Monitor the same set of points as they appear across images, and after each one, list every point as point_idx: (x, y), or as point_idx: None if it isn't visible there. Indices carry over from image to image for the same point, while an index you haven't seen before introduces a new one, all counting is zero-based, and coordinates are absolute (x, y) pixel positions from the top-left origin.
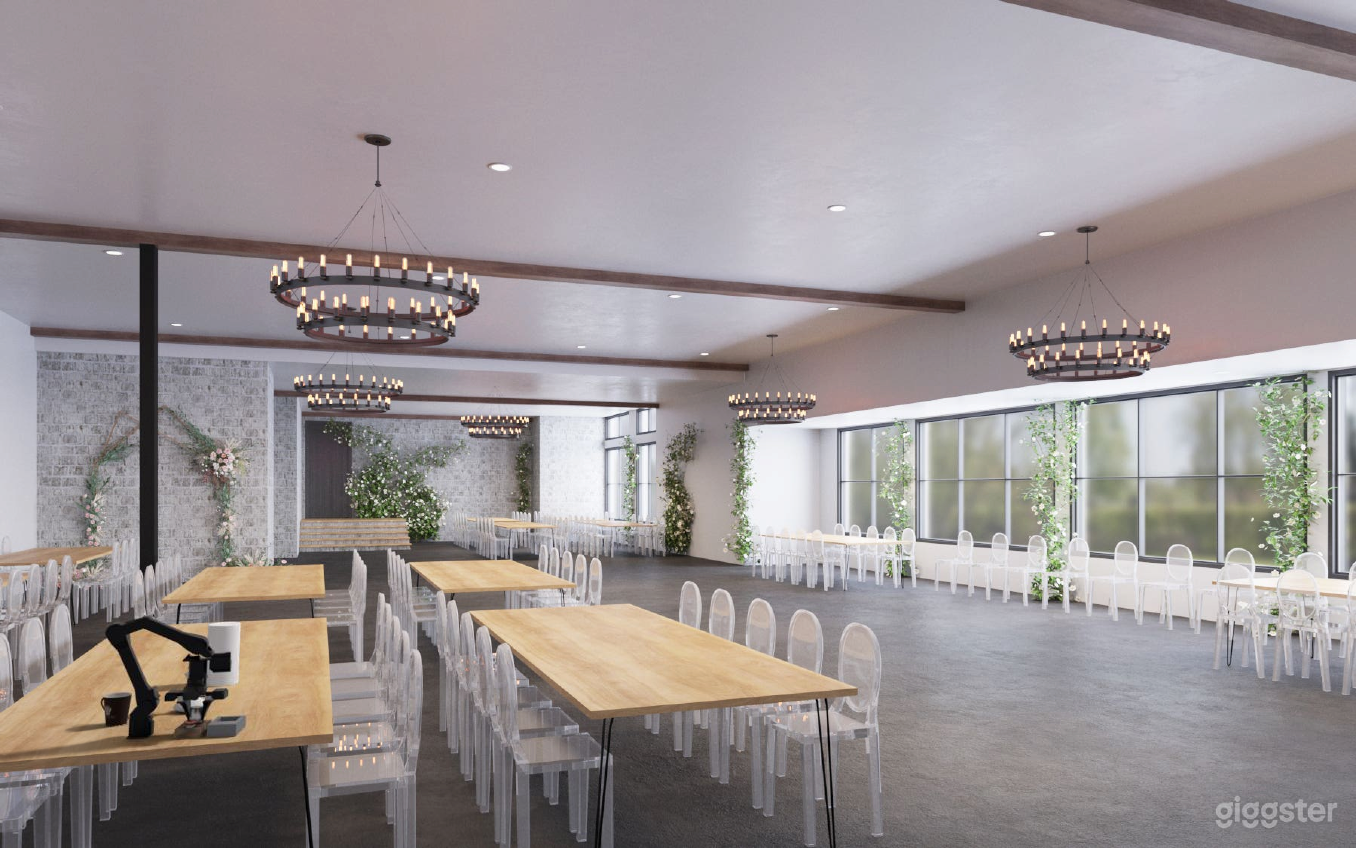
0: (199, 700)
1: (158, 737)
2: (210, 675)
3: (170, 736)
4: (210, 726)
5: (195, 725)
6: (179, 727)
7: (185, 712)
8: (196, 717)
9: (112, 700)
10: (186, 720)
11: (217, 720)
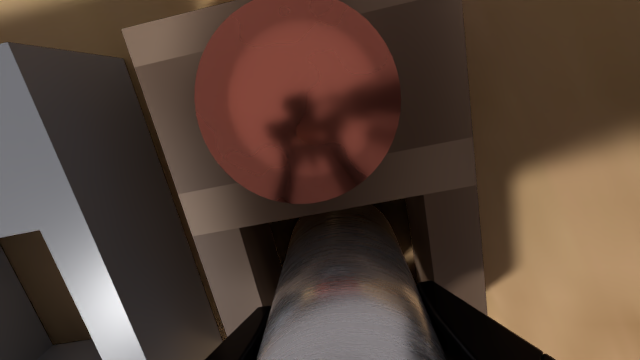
0: None
1: (611, 39)
2: None
3: (500, 85)
4: None
5: None
6: (432, 60)
7: (520, 346)
8: (301, 286)
9: None
10: (379, 133)
11: (82, 305)
